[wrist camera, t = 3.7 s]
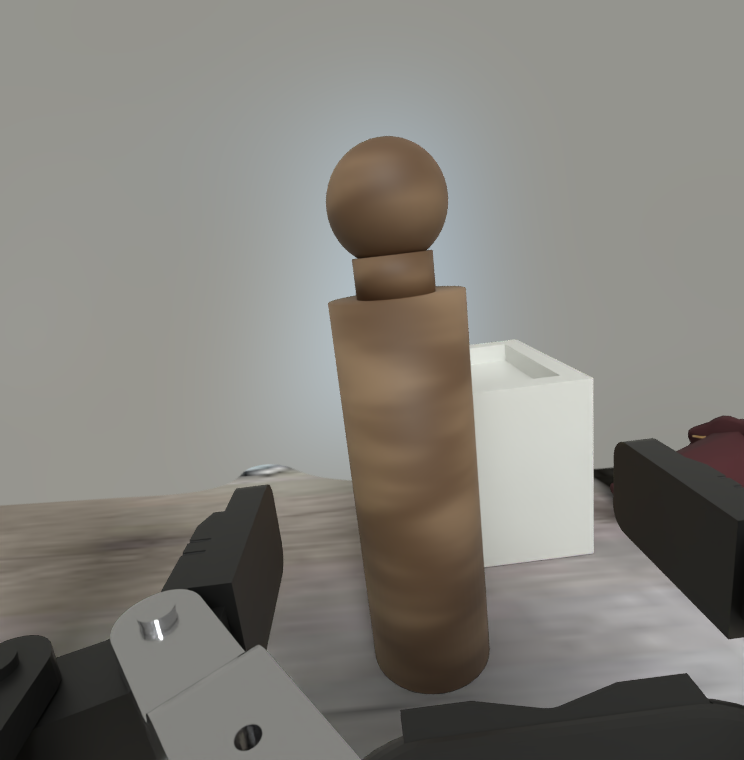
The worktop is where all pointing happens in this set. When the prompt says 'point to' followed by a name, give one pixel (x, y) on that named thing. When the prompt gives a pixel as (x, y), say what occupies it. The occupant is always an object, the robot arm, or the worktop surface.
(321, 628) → the worktop surface
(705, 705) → the robot arm
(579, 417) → the plinth
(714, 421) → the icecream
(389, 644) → the pepper mill
